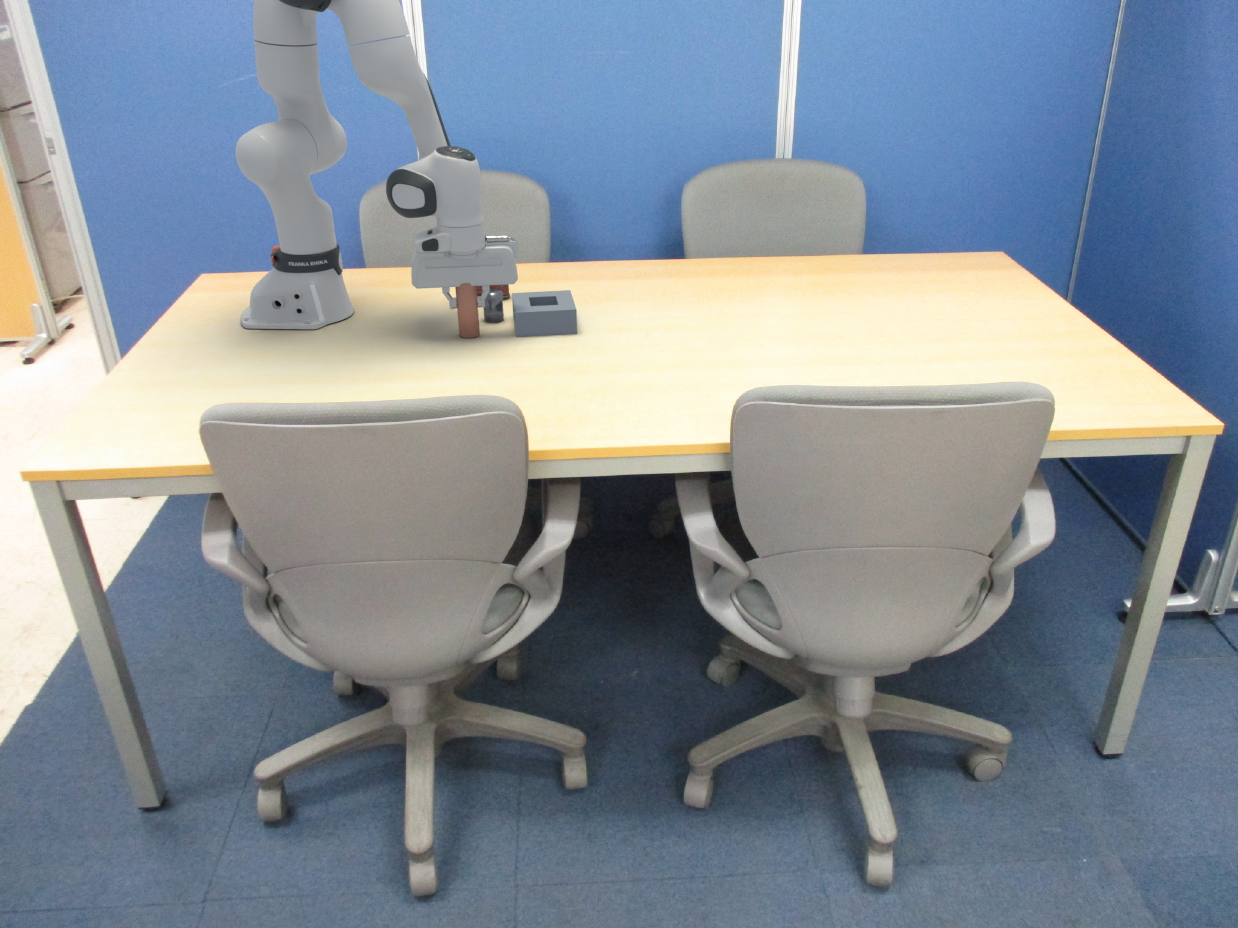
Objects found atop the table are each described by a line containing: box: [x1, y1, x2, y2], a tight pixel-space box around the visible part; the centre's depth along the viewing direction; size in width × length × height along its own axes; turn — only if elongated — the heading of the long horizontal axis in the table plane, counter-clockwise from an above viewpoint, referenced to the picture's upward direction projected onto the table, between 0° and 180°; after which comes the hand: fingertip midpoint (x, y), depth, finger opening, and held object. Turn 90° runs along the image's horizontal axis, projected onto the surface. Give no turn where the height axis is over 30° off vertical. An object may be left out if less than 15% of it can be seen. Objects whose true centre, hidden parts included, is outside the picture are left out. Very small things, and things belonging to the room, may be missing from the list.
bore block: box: [511, 289, 578, 338], centre depth 199 cm, size 12×12×5 cm
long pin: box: [454, 283, 481, 339], centre depth 193 cm, size 4×4×11 cm
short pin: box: [482, 289, 505, 324], centre depth 201 cm, size 4×4×6 cm
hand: (467, 307), depth 193 cm, fingers closed on long pin, 4 cm apart
